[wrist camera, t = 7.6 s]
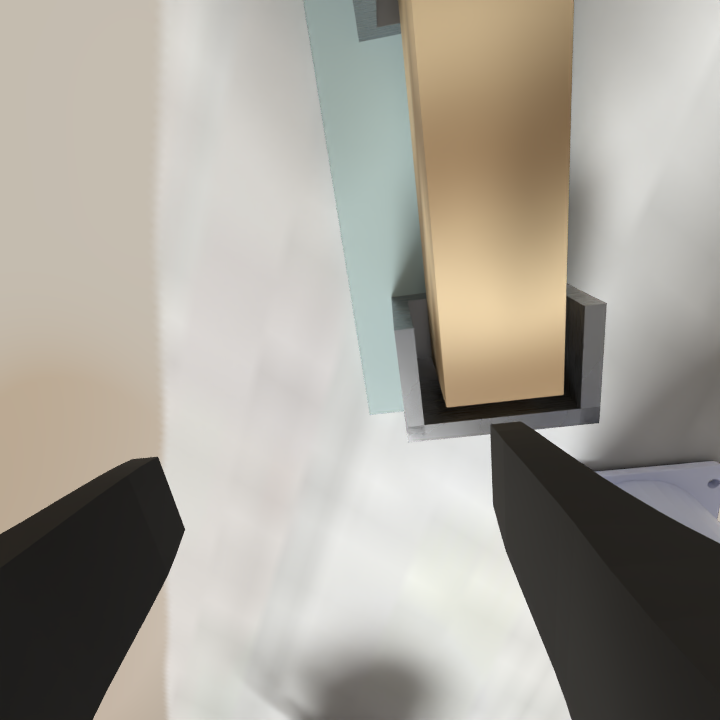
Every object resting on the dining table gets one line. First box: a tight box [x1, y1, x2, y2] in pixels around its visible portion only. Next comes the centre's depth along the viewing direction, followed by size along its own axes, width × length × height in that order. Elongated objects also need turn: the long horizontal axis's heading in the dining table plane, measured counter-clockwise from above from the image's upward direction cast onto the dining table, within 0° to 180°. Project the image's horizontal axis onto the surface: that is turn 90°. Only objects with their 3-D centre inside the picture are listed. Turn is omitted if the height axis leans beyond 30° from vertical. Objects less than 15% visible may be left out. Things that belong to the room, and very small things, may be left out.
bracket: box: [391, 283, 607, 442], centre depth 15 cm, size 4×6×4 cm, turn 99°
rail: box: [398, 0, 574, 407], centre depth 12 cm, size 14×4×4 cm, turn 9°
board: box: [303, 0, 574, 415], centre depth 15 cm, size 19×8×1 cm, turn 8°
